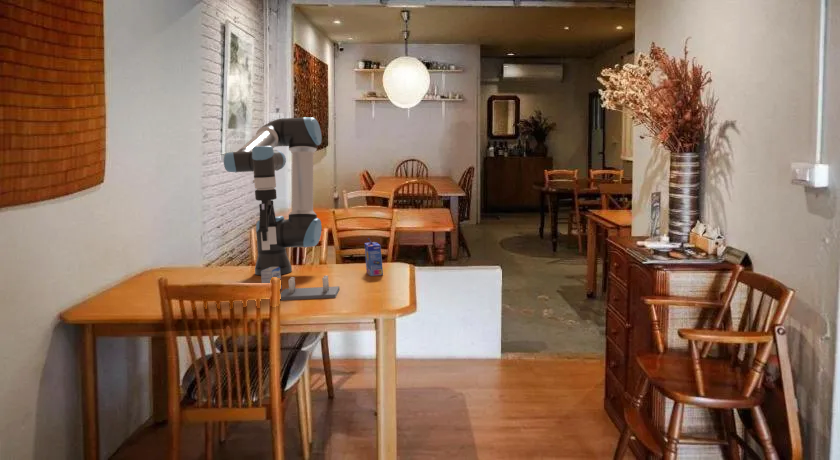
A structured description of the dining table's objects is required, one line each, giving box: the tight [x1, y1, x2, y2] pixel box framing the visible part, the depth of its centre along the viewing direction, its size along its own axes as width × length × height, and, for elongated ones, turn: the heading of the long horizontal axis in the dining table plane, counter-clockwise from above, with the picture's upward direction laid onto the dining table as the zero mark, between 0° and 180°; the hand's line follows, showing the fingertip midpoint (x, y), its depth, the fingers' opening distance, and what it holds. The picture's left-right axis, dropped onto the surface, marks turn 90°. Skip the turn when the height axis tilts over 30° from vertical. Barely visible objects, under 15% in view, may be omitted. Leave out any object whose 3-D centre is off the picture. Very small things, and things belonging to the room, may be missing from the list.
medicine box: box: [260, 267, 283, 290], centre depth 286 cm, size 8×4×9 cm, turn 168°
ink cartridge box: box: [364, 238, 384, 277], centre depth 312 cm, size 10×6×14 cm, turn 13°
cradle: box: [280, 275, 340, 301], centre depth 277 cm, size 14×20×6 cm
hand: (269, 247), depth 285 cm, fingers open, 13 cm apart
